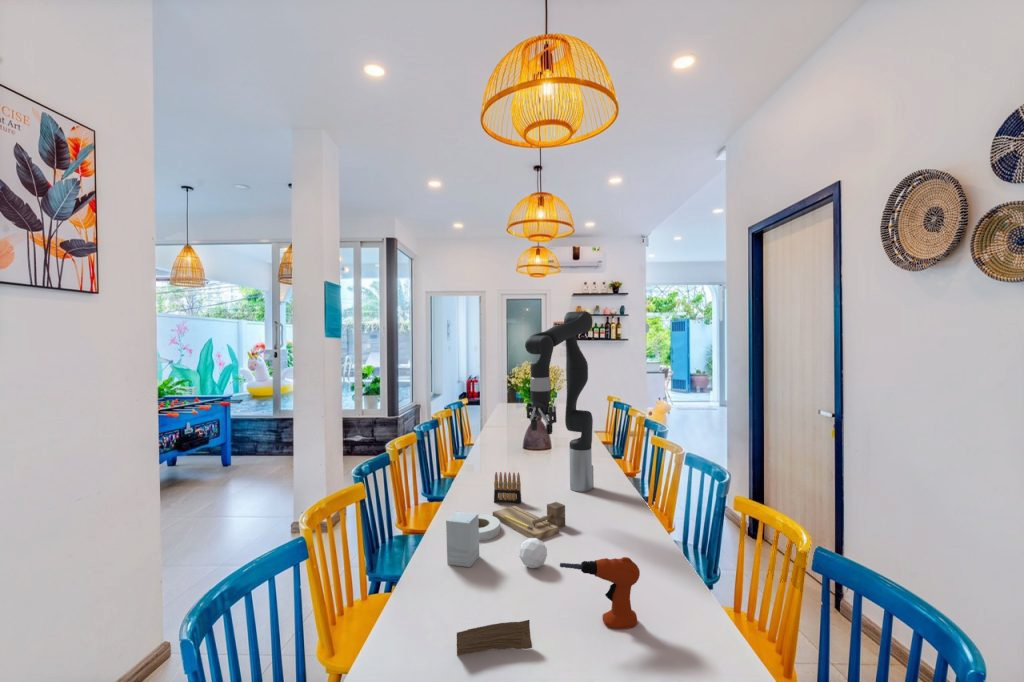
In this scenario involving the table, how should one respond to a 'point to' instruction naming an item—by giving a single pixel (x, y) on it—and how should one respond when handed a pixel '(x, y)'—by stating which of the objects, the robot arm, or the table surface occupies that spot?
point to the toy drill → (614, 587)
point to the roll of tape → (488, 526)
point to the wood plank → (495, 637)
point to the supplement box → (462, 539)
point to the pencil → (518, 522)
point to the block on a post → (553, 515)
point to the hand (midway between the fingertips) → (541, 432)
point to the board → (525, 517)
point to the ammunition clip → (506, 494)
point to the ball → (533, 553)
